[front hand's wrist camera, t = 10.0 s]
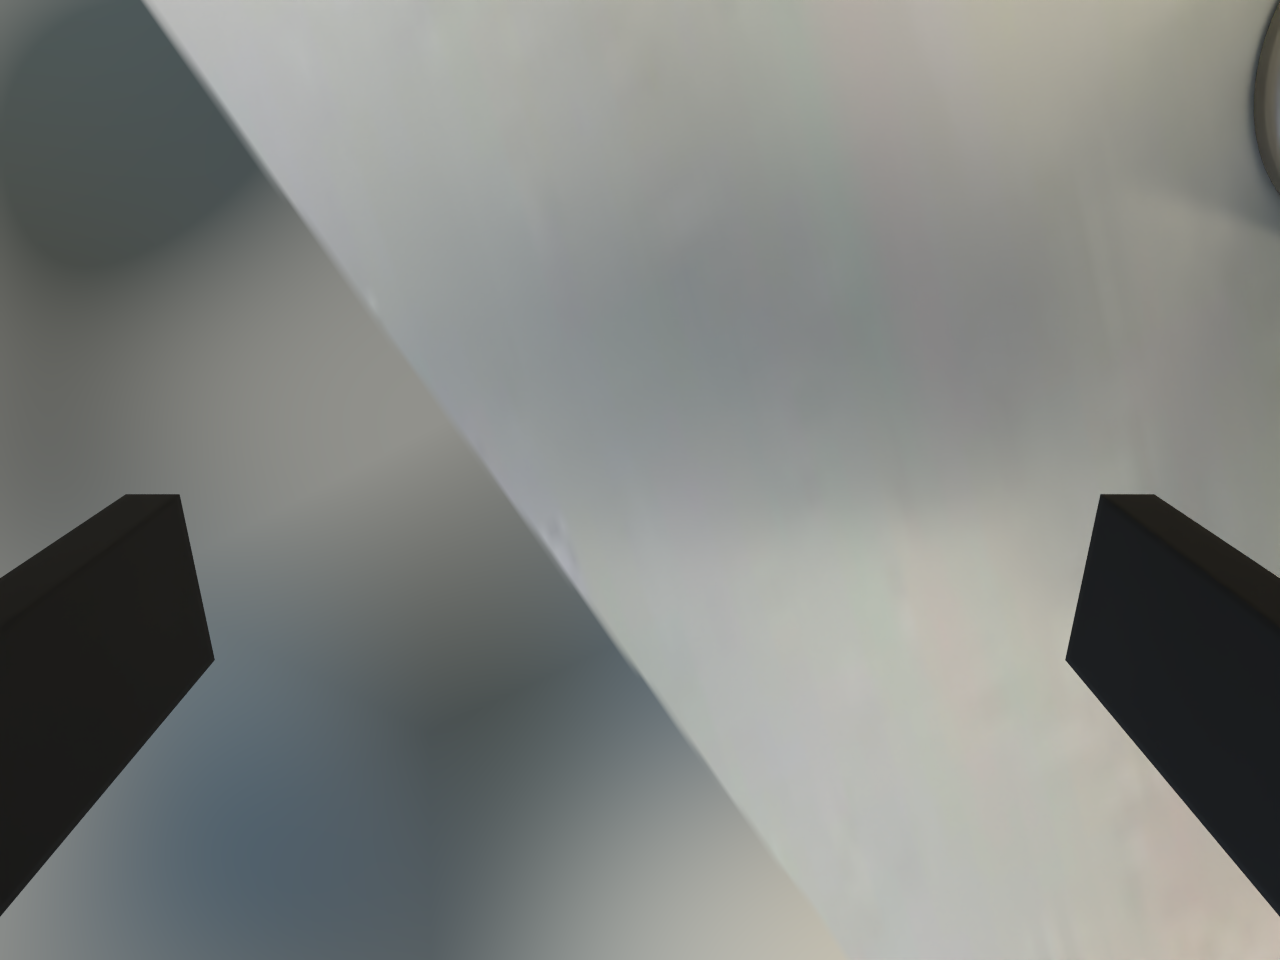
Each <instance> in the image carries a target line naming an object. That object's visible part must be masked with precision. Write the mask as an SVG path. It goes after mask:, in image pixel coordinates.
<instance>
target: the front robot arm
mask: <svg viewBox="0 0 1280 960" xmlns="http://www.w3.org/2000/svg"><path fill="white" fill-rule="evenodd" d="M1254 121H1255V131H1256V137H1257V142H1258V147H1259V151H1260V154H1261V157H1262V160H1263V164H1264V167H1265V169H1266V171H1267V173H1268V175H1269V177H1270V180H1271V182H1272V183H1273V185H1274V186H1275V188H1276V190H1277V191H1278V193H1279V194H1280V2H1279V4H1278V7H1277V9H1276V11H1275V13H1274V16H1273V18H1272V20H1271V23H1270V26H1269V29H1268V31H1267V34H1266V37H1265V40H1264V44H1263V48H1262V51H1261V55H1260V59H1259V64H1258V69H1257V75H1256V82H1255V93H1254ZM214 660H215V659H214V655H213V650H212V645H211V640H210V636H209V631H208V626H207V622H206V617H205V612H204V608H203V603H202V598H201V593H200V589H199V584H198V579H197V575H196V570H195V565H194V560H193V556H192V551H191V546H190V542H189V537H188V532H187V527H186V523H185V518H184V513H183V509H182V504H181V499H180V495H179V494H126V495H124V496H123V497H121V498H120V499H118V500H117V501H115V502H114V503H112V504H111V505H109V506H108V507H106V508H105V509H103V510H102V511H100V512H99V513H97V514H96V515H94V516H93V517H91V518H90V519H88V520H87V521H85V522H84V523H82V524H81V525H79V526H78V527H76V528H75V529H73V530H72V531H70V532H69V533H67V534H66V535H64V536H63V537H61V538H60V539H58V540H57V541H55V542H54V543H52V544H51V545H49V546H48V547H46V548H45V549H43V550H42V551H40V552H39V553H37V554H36V555H34V556H33V557H31V558H30V559H28V560H27V561H25V562H24V563H22V564H21V565H19V566H18V567H16V568H15V569H13V570H12V571H10V572H9V573H7V574H6V575H5V576H3V577H1V578H0V916H1V915H2V914H3V913H4V911H5V910H6V909H7V908H8V907H9V905H10V904H11V903H12V902H13V901H14V899H15V898H16V897H17V896H18V895H19V893H20V892H21V891H22V890H23V889H24V887H25V886H26V885H27V884H28V883H29V881H30V880H31V879H32V878H33V877H34V875H35V874H36V873H37V872H38V871H39V870H40V868H41V867H42V866H43V865H44V863H45V862H46V861H47V860H48V859H49V857H50V856H51V855H52V854H53V853H54V852H55V850H56V849H57V848H58V847H59V846H60V844H61V843H62V842H63V841H64V840H65V838H66V837H67V836H68V835H69V834H70V832H71V831H72V830H73V829H74V828H75V826H76V825H77V824H78V823H79V822H80V820H81V819H82V818H83V817H84V816H85V814H86V813H87V812H88V811H89V810H90V808H91V807H92V806H93V805H94V804H95V802H96V801H97V800H98V799H99V798H100V797H101V795H102V794H103V793H104V792H105V791H106V789H107V788H108V787H109V786H110V785H111V783H112V782H113V781H114V780H115V779H116V777H117V776H118V775H119V774H120V773H121V771H122V770H123V769H124V768H125V767H126V765H127V764H128V763H129V762H130V761H131V759H132V758H133V757H134V756H135V755H136V753H137V752H138V751H139V750H140V749H141V747H142V746H143V745H144V744H145V743H146V741H147V740H148V739H149V738H150V737H151V735H152V734H153V733H154V732H155V731H156V729H157V728H158V727H159V726H160V725H161V723H162V722H163V721H164V720H165V719H166V718H167V716H168V715H169V714H170V713H171V712H172V710H173V709H174V708H175V707H176V706H177V704H178V703H179V702H180V701H181V700H182V698H183V697H184V696H185V695H186V694H187V692H188V691H189V690H190V689H191V688H192V686H193V685H194V684H195V683H196V682H197V680H198V679H199V678H200V677H201V676H202V674H203V673H204V672H205V671H206V670H207V668H208V667H209V666H210V665H211V664H212V662H213V661H214ZM1065 660H1066V661H1067V662H1068V664H1069V665H1070V666H1071V667H1072V668H1073V670H1074V671H1075V672H1076V673H1077V674H1078V676H1079V677H1080V678H1081V679H1082V680H1083V682H1084V683H1085V684H1086V685H1087V686H1088V688H1089V689H1090V690H1091V691H1092V692H1093V694H1094V695H1095V696H1096V697H1097V698H1098V700H1099V701H1100V702H1101V703H1102V704H1103V706H1104V707H1105V708H1106V709H1107V710H1108V712H1109V713H1110V714H1111V715H1112V716H1113V718H1114V719H1115V720H1116V721H1117V722H1118V724H1119V725H1120V726H1121V727H1122V728H1123V729H1124V731H1125V732H1126V733H1127V734H1128V735H1129V737H1130V738H1131V739H1132V740H1133V741H1134V743H1135V744H1136V745H1137V746H1138V747H1139V749H1140V750H1141V751H1142V752H1143V753H1144V755H1145V756H1146V757H1147V758H1148V759H1149V761H1150V762H1151V763H1152V764H1153V765H1154V767H1155V768H1156V769H1157V770H1158V771H1159V773H1160V774H1161V775H1162V776H1163V777H1164V779H1165V780H1166V781H1167V782H1168V783H1169V785H1170V786H1171V787H1172V788H1173V789H1174V791H1175V792H1176V793H1177V794H1178V795H1179V797H1180V798H1181V799H1182V800H1183V801H1184V803H1185V804H1186V805H1187V806H1188V807H1189V808H1190V810H1191V811H1192V812H1193V813H1194V814H1195V816H1196V817H1197V818H1198V819H1199V820H1200V822H1201V823H1202V824H1203V825H1204V826H1205V828H1206V829H1207V830H1208V831H1209V832H1210V834H1211V835H1212V836H1213V837H1214V838H1215V840H1216V841H1217V842H1218V843H1219V844H1220V846H1221V847H1222V848H1223V849H1224V850H1225V852H1226V853H1227V854H1228V855H1229V856H1230V858H1231V859H1232V860H1233V861H1234V862H1235V864H1236V865H1237V866H1238V867H1239V868H1240V870H1241V871H1242V872H1243V873H1244V874H1245V876H1246V877H1247V878H1248V879H1249V880H1250V881H1251V883H1252V884H1253V885H1254V886H1255V887H1256V889H1257V890H1258V891H1259V892H1260V893H1261V895H1262V896H1263V897H1264V898H1265V899H1266V901H1267V902H1268V903H1269V904H1270V905H1271V907H1272V908H1273V909H1274V910H1275V911H1276V913H1277V914H1278V915H1279V916H1280V578H1279V577H1277V576H1276V575H1274V574H1273V573H1271V572H1270V571H1268V570H1267V569H1265V568H1264V567H1262V566H1261V565H1259V564H1258V563H1256V562H1255V561H1253V560H1252V559H1250V558H1249V557H1247V556H1246V555H1244V554H1243V553H1241V552H1240V551H1238V550H1237V549H1235V548H1234V547H1232V546H1231V545H1229V544H1228V543H1226V542H1225V541H1223V540H1222V539H1220V538H1219V537H1217V536H1216V535H1214V534H1213V533H1211V532H1210V531H1208V530H1207V529H1205V528H1204V527H1202V526H1201V525H1199V524H1198V523H1196V522H1195V521H1193V520H1192V519H1190V518H1189V517H1187V516H1186V515H1184V514H1183V513H1181V512H1180V511H1178V510H1177V509H1175V508H1174V507H1172V506H1171V505H1169V504H1168V503H1166V502H1165V501H1163V500H1162V499H1160V498H1159V497H1157V496H1156V495H1154V494H1100V499H1099V504H1098V509H1097V513H1096V518H1095V523H1094V527H1093V532H1092V537H1091V542H1090V546H1089V551H1088V556H1087V560H1086V565H1085V570H1084V575H1083V579H1082V584H1081V589H1080V593H1079V598H1078V603H1077V607H1076V612H1075V617H1074V622H1073V626H1072V631H1071V636H1070V640H1069V645H1068V650H1067V655H1066V659H1065Z"/></svg>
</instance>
